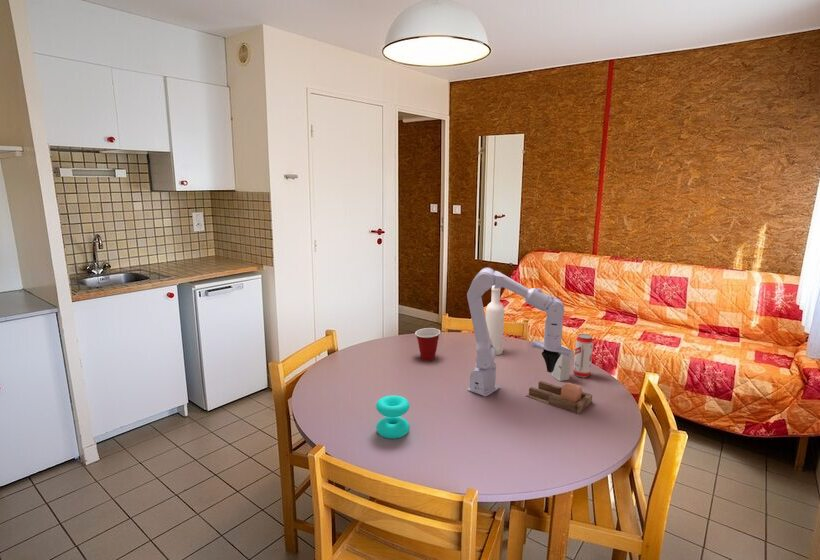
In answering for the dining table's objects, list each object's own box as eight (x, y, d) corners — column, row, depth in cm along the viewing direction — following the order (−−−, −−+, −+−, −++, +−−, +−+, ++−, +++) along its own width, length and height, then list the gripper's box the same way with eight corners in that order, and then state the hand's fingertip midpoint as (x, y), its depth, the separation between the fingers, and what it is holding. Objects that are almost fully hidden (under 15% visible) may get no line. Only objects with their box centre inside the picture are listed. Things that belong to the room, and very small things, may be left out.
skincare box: (550, 375, 184) (552, 345, 182) (560, 374, 185) (562, 344, 183) (560, 381, 178) (562, 351, 176) (570, 380, 180) (572, 350, 177)
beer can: (587, 372, 187) (591, 333, 184) (592, 378, 181) (595, 339, 178) (571, 371, 188) (574, 333, 184) (575, 378, 182) (578, 338, 178)
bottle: (505, 351, 210) (508, 285, 204) (498, 356, 203) (501, 289, 197) (488, 348, 214) (490, 283, 208) (481, 353, 207) (483, 286, 201)
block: (574, 406, 157) (575, 391, 156) (560, 402, 161) (561, 387, 160) (580, 401, 161) (581, 386, 160) (566, 397, 164) (567, 382, 163)
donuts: (394, 412, 134) (369, 402, 140) (394, 444, 136) (369, 432, 142) (416, 400, 141) (391, 390, 148) (416, 430, 143) (391, 420, 150)
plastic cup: (410, 355, 204) (410, 329, 202) (432, 352, 209) (433, 326, 206) (421, 364, 195) (421, 336, 192) (444, 360, 199) (445, 333, 197)
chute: (578, 414, 154) (579, 406, 153) (525, 396, 166) (526, 388, 166) (591, 402, 162) (592, 394, 161) (540, 386, 174) (540, 379, 174)
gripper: (578, 336, 160) (575, 373, 162) (539, 326, 169) (536, 362, 172) (569, 341, 154) (566, 379, 157) (529, 331, 164) (527, 368, 167)
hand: (550, 371), depth 164 cm, fingers closed
